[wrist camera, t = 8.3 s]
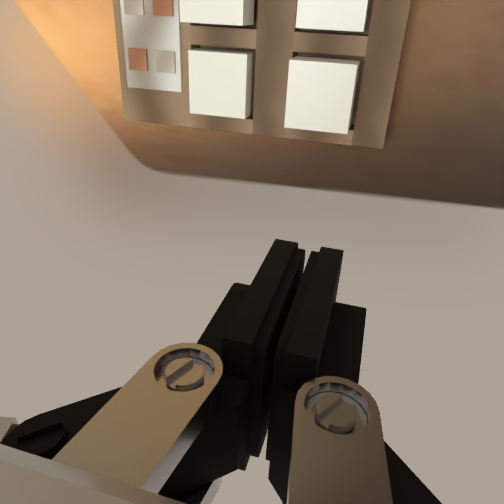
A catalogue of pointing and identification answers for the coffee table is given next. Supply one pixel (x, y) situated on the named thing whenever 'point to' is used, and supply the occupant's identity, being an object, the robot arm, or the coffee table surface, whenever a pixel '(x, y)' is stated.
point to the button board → (256, 65)
